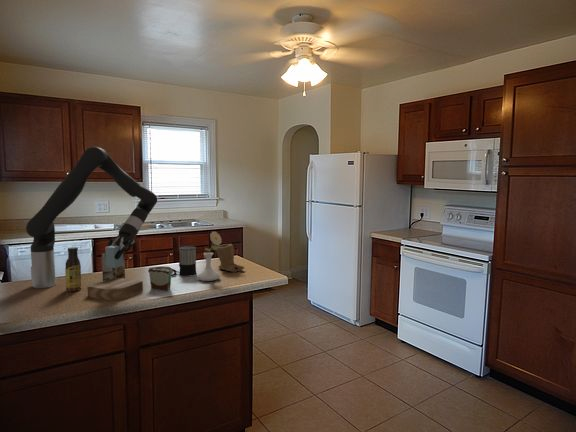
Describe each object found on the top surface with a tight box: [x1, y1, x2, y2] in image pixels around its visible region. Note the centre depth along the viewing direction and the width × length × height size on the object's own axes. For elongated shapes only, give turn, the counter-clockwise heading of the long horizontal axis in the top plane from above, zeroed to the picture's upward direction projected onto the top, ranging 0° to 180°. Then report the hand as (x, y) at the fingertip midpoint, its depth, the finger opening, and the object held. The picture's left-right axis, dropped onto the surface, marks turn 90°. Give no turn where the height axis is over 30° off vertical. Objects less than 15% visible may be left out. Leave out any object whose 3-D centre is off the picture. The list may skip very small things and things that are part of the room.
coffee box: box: [101, 252, 126, 282], centre depth 184 cm, size 9×6×16 cm
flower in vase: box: [196, 231, 223, 282], centre depth 193 cm, size 13×11×25 cm
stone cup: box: [215, 243, 245, 273], centre depth 213 cm, size 15×12×15 cm
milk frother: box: [170, 245, 198, 277], centre depth 202 cm, size 14×16×15 cm
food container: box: [147, 266, 174, 292], centre depth 177 cm, size 12×6×10 cm, turn 71°
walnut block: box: [86, 278, 144, 302], centre depth 169 cm, size 16×16×5 cm
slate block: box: [105, 244, 124, 268], centre depth 168 cm, size 5×5×9 cm
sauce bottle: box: [64, 246, 82, 292], centre depth 174 cm, size 7×6×20 cm
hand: (111, 257), depth 166 cm, fingers closed on slate block, 5 cm apart
